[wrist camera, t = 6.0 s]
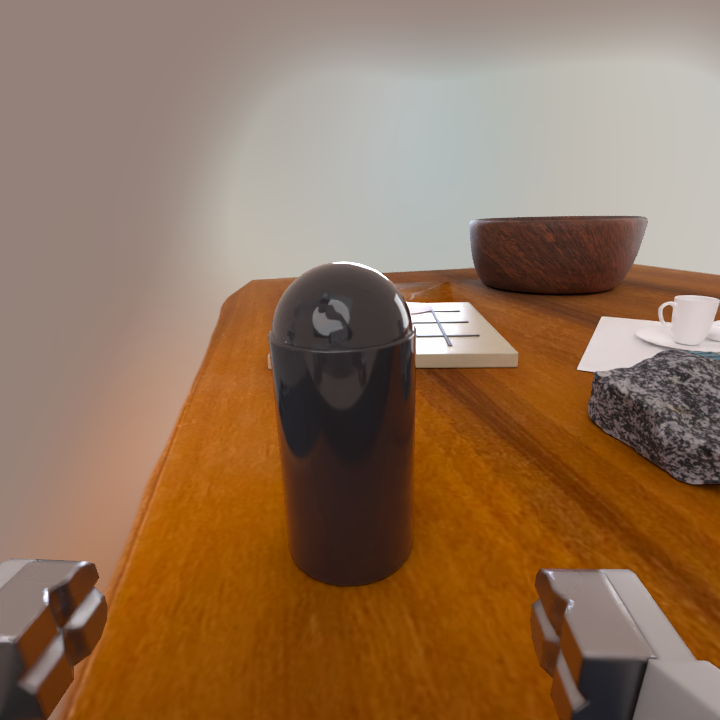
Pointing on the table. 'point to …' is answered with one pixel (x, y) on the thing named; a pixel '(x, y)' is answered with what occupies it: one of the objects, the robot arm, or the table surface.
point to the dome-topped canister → (345, 422)
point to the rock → (665, 411)
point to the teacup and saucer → (654, 335)
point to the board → (456, 338)
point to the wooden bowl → (556, 252)
